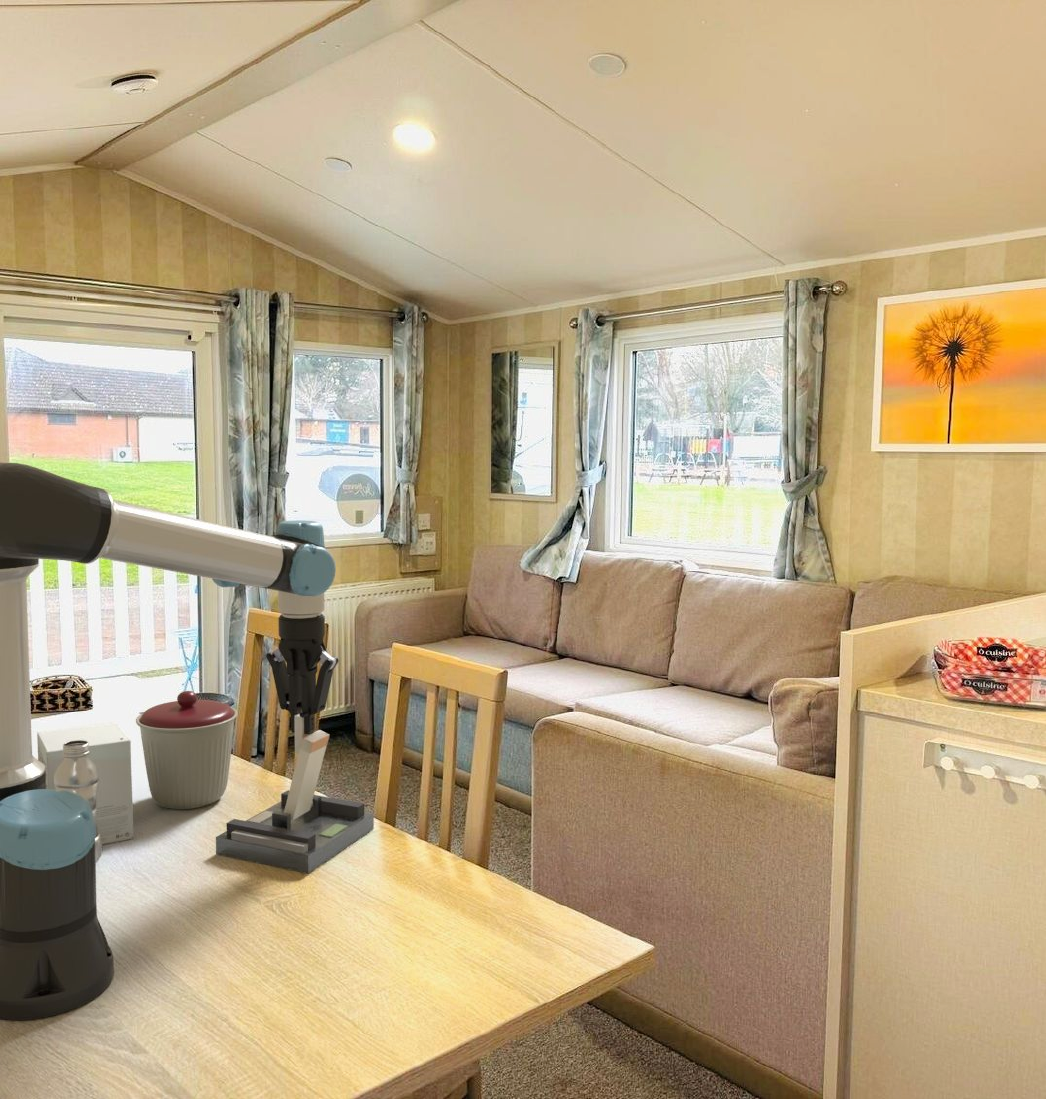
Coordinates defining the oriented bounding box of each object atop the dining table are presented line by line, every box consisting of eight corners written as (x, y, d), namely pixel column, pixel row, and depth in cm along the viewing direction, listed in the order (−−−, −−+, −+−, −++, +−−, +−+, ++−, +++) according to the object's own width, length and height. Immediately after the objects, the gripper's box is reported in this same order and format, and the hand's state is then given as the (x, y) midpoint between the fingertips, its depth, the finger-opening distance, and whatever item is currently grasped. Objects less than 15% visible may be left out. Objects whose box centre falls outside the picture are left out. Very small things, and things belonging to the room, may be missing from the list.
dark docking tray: (303, 853, 155) (303, 841, 155) (221, 837, 161) (221, 825, 160) (364, 814, 172) (364, 803, 171) (287, 800, 178) (287, 790, 177)
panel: (308, 873, 154) (308, 834, 154) (216, 854, 161) (215, 816, 160) (373, 828, 173) (373, 793, 172) (288, 813, 180) (288, 778, 179)
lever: (288, 824, 163) (309, 744, 160) (278, 818, 164) (298, 739, 161) (313, 809, 170) (333, 732, 167) (303, 804, 170) (323, 727, 167)
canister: (243, 810, 181) (241, 699, 178) (138, 823, 174) (135, 707, 172) (234, 779, 197) (232, 677, 195) (137, 789, 191) (134, 683, 188)
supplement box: (119, 814, 178) (117, 720, 176) (134, 839, 167) (132, 739, 165) (39, 828, 171) (35, 731, 169) (49, 855, 160) (45, 751, 158)
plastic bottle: (86, 875, 153) (81, 751, 150) (47, 871, 154) (43, 747, 152) (111, 858, 159) (107, 739, 157) (74, 854, 160) (70, 736, 158)
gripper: (347, 613, 163) (348, 750, 166) (282, 607, 168) (284, 740, 171) (322, 620, 156) (323, 763, 159) (255, 614, 161) (257, 753, 164)
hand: (303, 751), depth 165 cm, fingers closed
